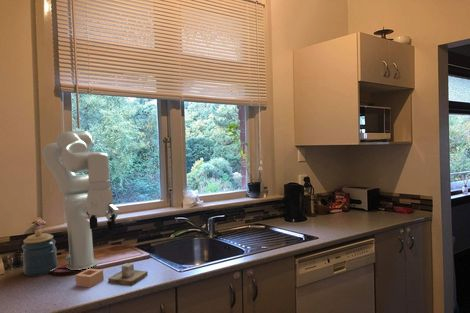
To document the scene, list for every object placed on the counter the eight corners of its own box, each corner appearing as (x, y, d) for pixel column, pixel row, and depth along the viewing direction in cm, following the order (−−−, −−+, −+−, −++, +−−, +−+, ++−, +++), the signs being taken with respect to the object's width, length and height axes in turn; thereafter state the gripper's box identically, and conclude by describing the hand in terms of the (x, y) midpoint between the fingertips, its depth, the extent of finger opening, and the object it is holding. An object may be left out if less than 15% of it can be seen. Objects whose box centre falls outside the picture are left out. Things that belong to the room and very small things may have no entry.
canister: (63, 264, 164) (60, 225, 163) (49, 275, 151) (46, 233, 150) (33, 266, 164) (30, 227, 162) (17, 277, 151) (13, 235, 150)
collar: (76, 285, 140) (75, 275, 139) (89, 278, 146) (88, 268, 146) (90, 287, 137) (90, 276, 137) (103, 279, 144) (103, 269, 143)
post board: (108, 282, 141) (107, 268, 141) (124, 272, 150) (123, 259, 150) (132, 285, 137) (131, 270, 137) (147, 275, 146) (146, 261, 146)
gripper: (76, 185, 141) (79, 229, 142) (107, 188, 132) (110, 234, 134) (92, 183, 147) (95, 224, 149) (123, 184, 139) (126, 229, 140)
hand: (102, 229), depth 141 cm, fingers open, 9 cm apart
